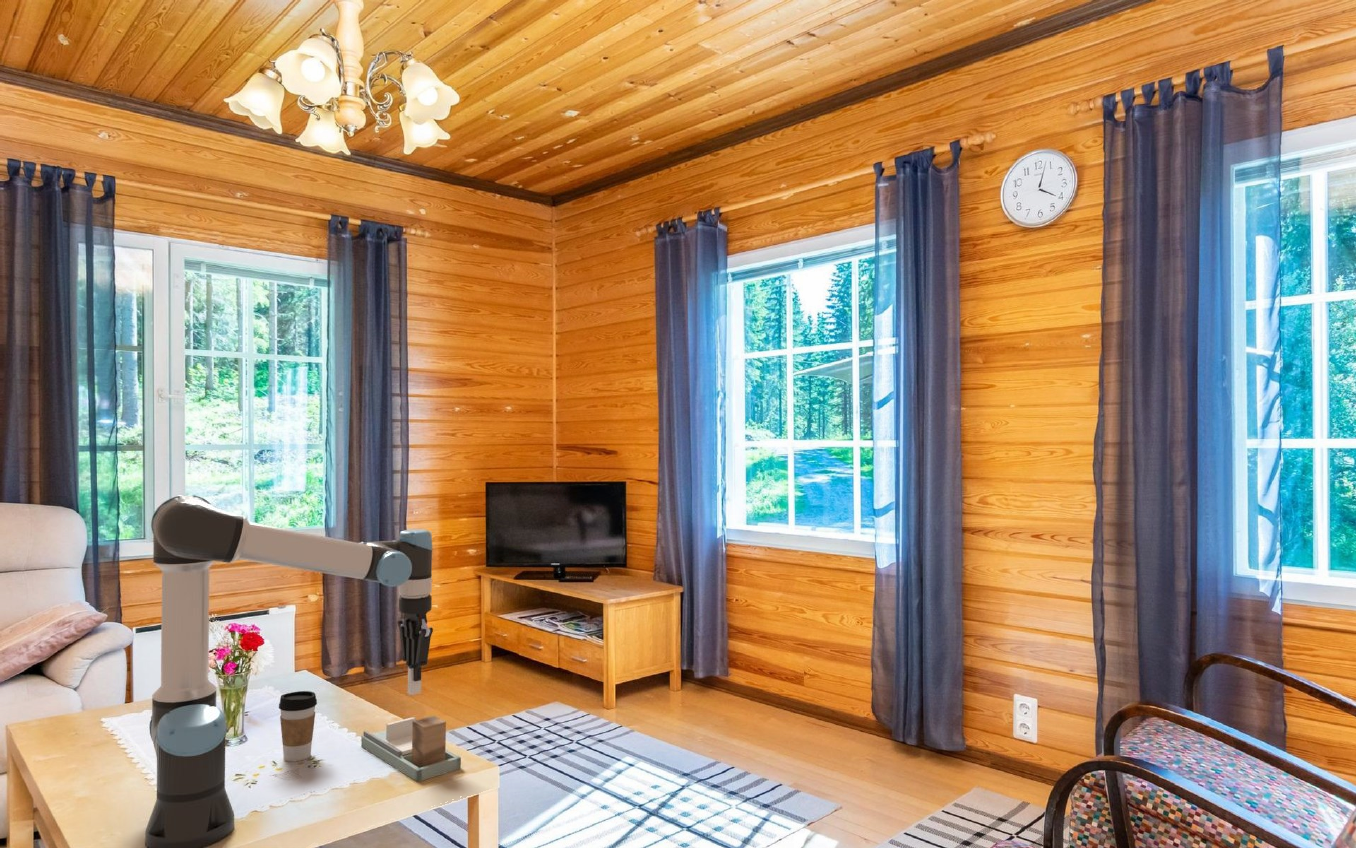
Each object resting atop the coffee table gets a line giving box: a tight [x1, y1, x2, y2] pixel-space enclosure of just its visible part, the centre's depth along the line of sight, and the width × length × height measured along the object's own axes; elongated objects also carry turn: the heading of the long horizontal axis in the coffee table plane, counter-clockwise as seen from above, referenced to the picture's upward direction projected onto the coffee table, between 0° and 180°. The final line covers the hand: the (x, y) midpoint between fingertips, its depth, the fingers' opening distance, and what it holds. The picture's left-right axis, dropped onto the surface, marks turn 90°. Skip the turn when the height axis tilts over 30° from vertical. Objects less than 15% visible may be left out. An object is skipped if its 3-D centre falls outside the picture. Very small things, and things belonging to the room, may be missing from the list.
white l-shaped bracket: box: [384, 716, 416, 755], centre depth 208 cm, size 9×8×5 cm
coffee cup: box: [278, 690, 318, 762], centre depth 207 cm, size 8×8×15 cm
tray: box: [360, 729, 462, 782], centre depth 208 cm, size 28×11×4 cm, turn 45°
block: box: [412, 715, 447, 768], centre depth 201 cm, size 6×6×11 cm
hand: (414, 693), depth 207 cm, fingers closed
